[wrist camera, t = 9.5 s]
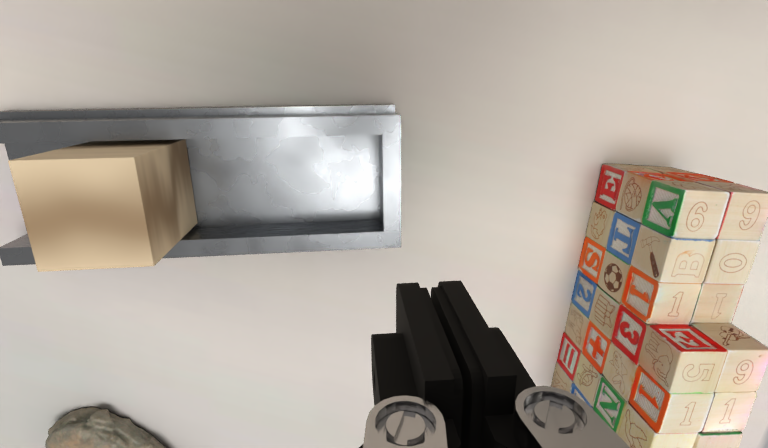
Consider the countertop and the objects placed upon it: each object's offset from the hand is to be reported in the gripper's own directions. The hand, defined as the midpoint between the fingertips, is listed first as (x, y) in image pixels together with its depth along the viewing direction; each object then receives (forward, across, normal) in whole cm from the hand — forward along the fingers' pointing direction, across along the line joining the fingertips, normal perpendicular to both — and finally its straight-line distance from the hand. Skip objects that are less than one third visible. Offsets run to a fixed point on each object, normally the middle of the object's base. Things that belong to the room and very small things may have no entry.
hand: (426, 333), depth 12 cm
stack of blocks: (+23, -20, +11) cm, 33 cm away
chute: (+23, +11, 0) cm, 25 cm away
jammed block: (+22, +16, 0) cm, 27 cm away
